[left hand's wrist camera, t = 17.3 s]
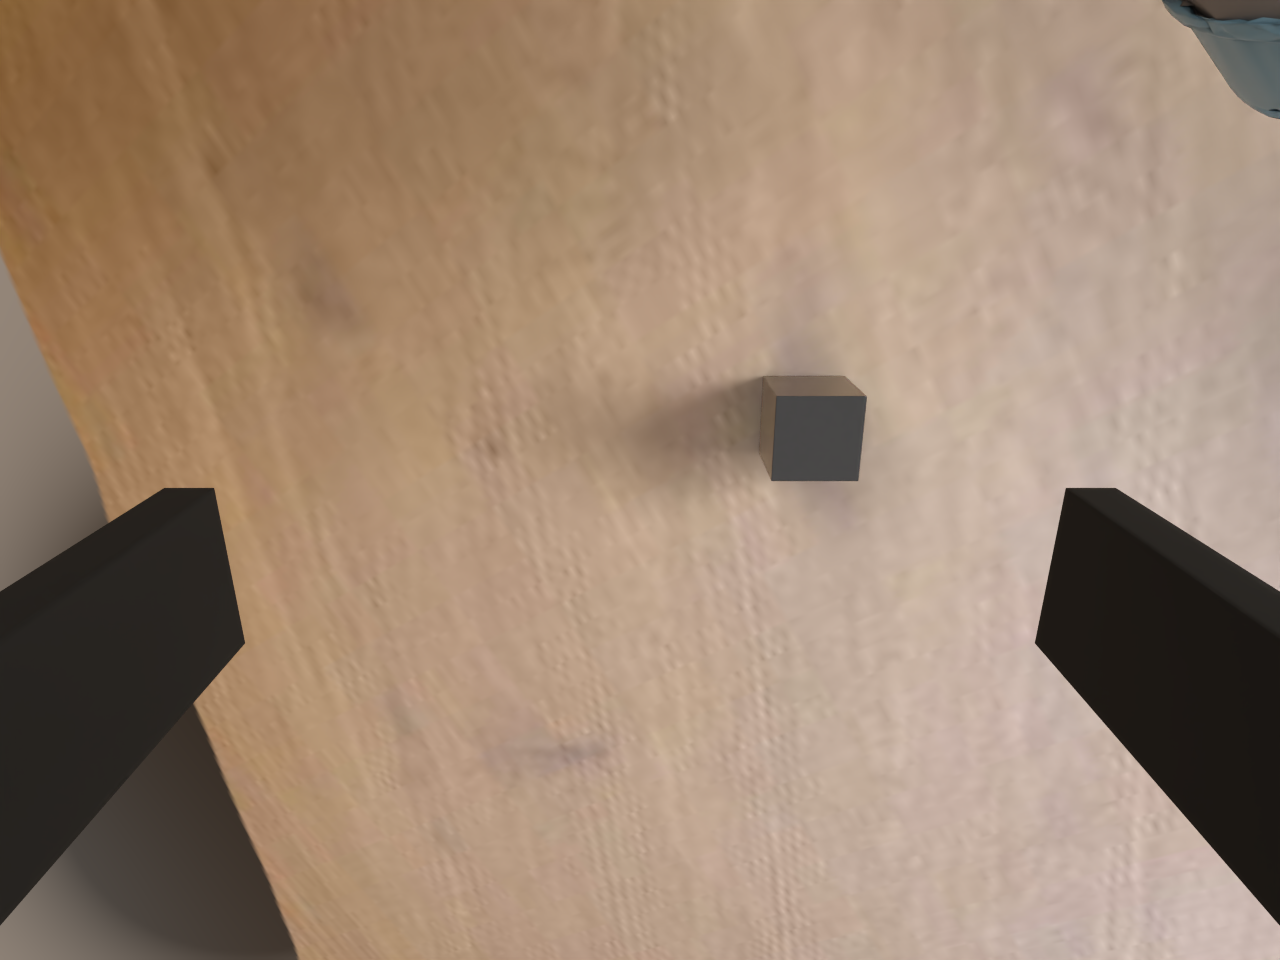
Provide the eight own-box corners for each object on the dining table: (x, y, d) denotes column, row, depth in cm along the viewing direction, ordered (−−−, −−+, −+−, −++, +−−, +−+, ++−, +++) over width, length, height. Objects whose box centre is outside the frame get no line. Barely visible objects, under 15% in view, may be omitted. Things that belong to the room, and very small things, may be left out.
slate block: (763, 375, 39) (776, 396, 35) (845, 375, 39) (867, 396, 35) (758, 453, 40) (771, 481, 36) (838, 453, 40) (858, 481, 36)
